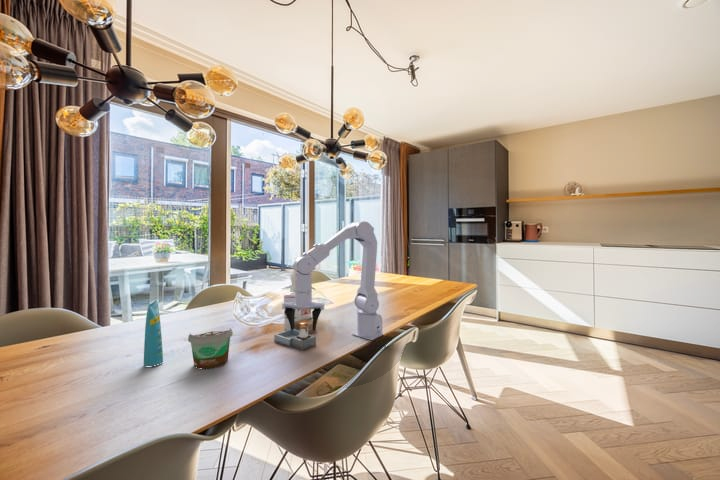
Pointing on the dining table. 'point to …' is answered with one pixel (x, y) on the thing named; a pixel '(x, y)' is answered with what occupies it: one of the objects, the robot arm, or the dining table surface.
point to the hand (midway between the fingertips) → (303, 329)
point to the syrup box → (291, 298)
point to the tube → (153, 336)
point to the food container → (210, 348)
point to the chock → (310, 325)
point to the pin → (303, 330)
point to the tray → (286, 337)
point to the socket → (303, 342)
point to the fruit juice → (304, 312)
